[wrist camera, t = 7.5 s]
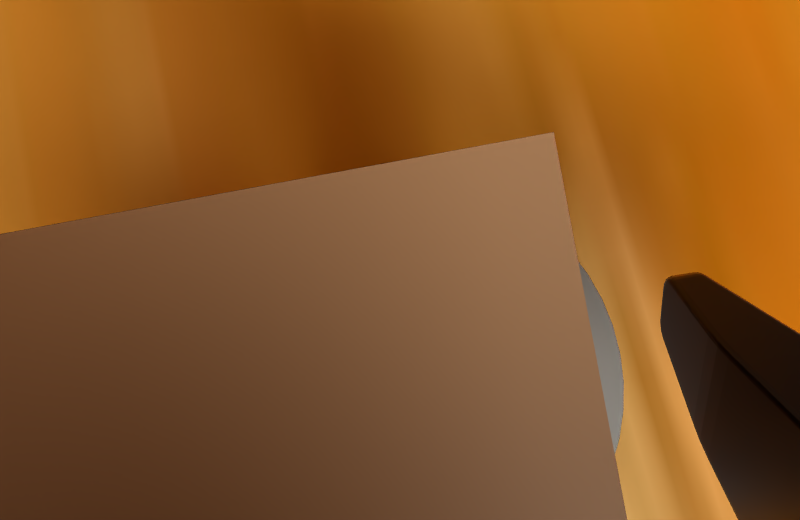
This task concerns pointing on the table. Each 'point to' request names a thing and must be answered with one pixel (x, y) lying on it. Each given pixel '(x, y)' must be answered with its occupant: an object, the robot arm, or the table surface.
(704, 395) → the robot arm
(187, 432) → the oak block
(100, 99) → the table surface
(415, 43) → the table surface
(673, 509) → the table surface
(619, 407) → the slate coaster
